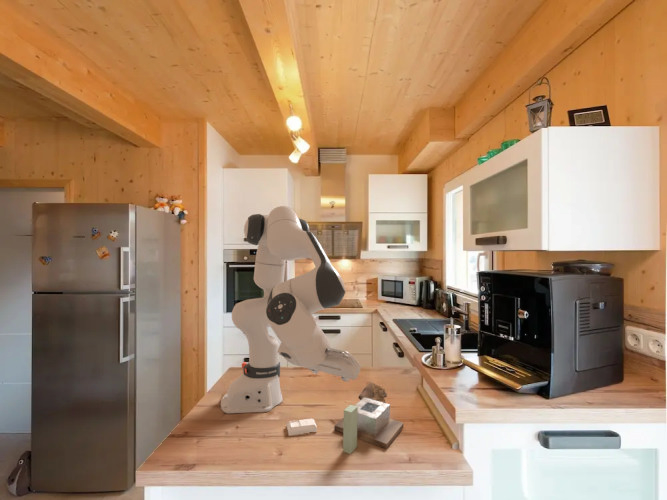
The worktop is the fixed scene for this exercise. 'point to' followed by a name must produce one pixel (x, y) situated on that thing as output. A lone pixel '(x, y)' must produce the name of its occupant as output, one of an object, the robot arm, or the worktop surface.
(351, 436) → the sage slat
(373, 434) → the grey slotted block
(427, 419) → the worktop surface
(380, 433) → the walnut board
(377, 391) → the wooden fragment
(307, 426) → the soap bar
